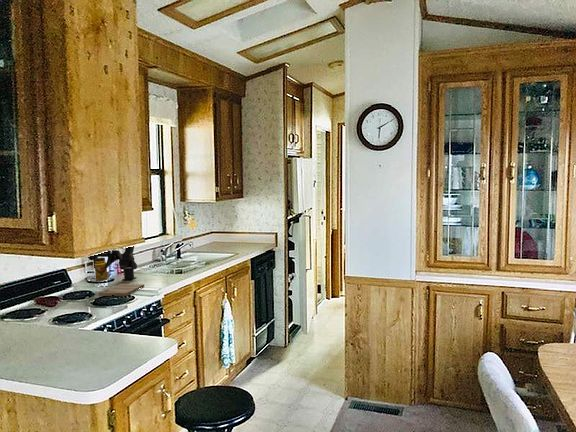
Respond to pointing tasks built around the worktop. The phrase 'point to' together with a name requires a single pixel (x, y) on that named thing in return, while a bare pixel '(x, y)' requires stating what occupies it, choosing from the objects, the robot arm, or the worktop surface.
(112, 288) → the walnut board
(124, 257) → the robot arm
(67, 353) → the worktop surface
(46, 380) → the worktop surface
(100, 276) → the yellow black cylinder
